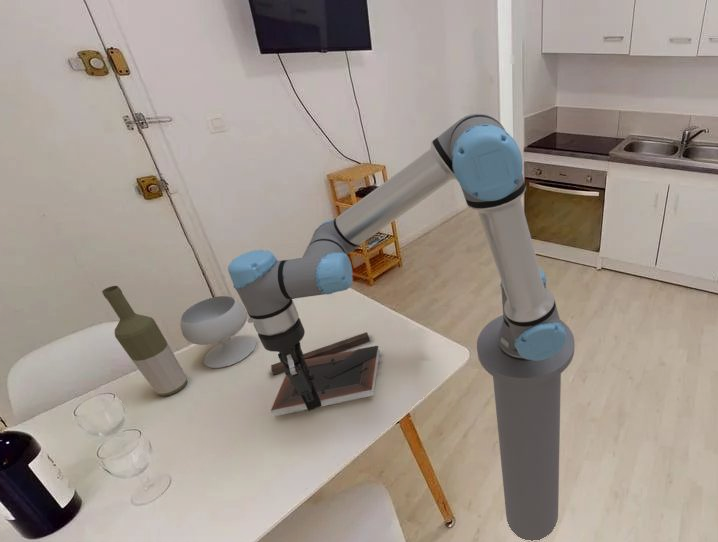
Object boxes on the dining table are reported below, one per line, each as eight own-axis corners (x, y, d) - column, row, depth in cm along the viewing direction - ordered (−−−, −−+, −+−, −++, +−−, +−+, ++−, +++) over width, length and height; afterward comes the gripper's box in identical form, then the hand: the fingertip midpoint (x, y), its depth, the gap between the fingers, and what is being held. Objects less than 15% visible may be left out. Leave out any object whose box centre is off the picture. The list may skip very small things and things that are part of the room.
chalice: (201, 348, 114) (177, 305, 107) (258, 329, 121) (239, 287, 113) (199, 379, 104) (172, 334, 96) (261, 357, 110) (241, 313, 103)
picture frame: (380, 352, 110) (294, 368, 106) (378, 345, 109) (291, 361, 105) (373, 397, 96) (274, 417, 92) (371, 389, 95) (270, 409, 91)
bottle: (195, 384, 103) (136, 285, 88) (162, 403, 98) (93, 302, 83) (183, 372, 106) (125, 276, 91) (151, 391, 101) (83, 292, 86)
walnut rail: (368, 337, 116) (367, 331, 115) (370, 341, 115) (368, 335, 114) (273, 370, 106) (271, 365, 105) (273, 375, 104) (271, 369, 103)
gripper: (257, 314, 84) (294, 394, 95) (256, 351, 74) (298, 435, 85) (297, 302, 87) (328, 381, 98) (301, 335, 77) (336, 419, 88)
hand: (314, 406), depth 92 cm, fingers closed
